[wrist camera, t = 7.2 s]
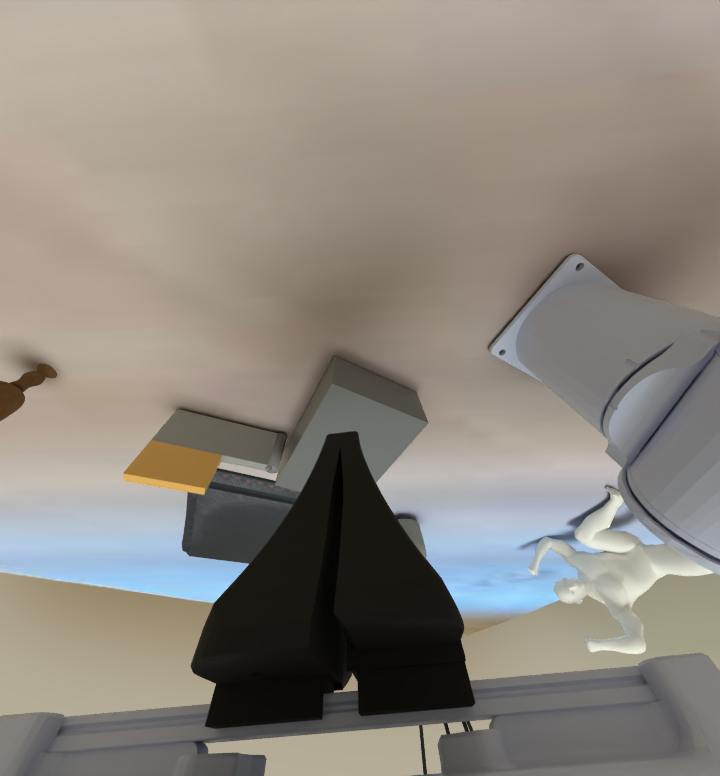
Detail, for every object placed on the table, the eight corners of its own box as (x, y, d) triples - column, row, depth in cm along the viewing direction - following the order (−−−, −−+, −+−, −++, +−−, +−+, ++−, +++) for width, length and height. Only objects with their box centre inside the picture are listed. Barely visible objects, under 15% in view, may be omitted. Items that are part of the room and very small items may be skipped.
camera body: (416, 392, 23) (430, 427, 19) (350, 476, 29) (351, 515, 26) (334, 355, 21) (331, 387, 17) (280, 455, 27) (270, 495, 23)
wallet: (185, 471, 26) (330, 503, 30) (194, 456, 27) (331, 488, 31) (172, 561, 36) (283, 575, 40) (179, 546, 37) (285, 561, 41)
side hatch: (177, 407, 23) (122, 472, 17) (287, 434, 25) (271, 499, 19) (177, 416, 23) (124, 482, 18) (285, 442, 25) (268, 507, 20)
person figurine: (745, 577, 23) (606, 677, 29) (779, 560, 28) (655, 647, 35) (588, 469, 34) (513, 559, 40) (634, 471, 39) (561, 550, 45)
